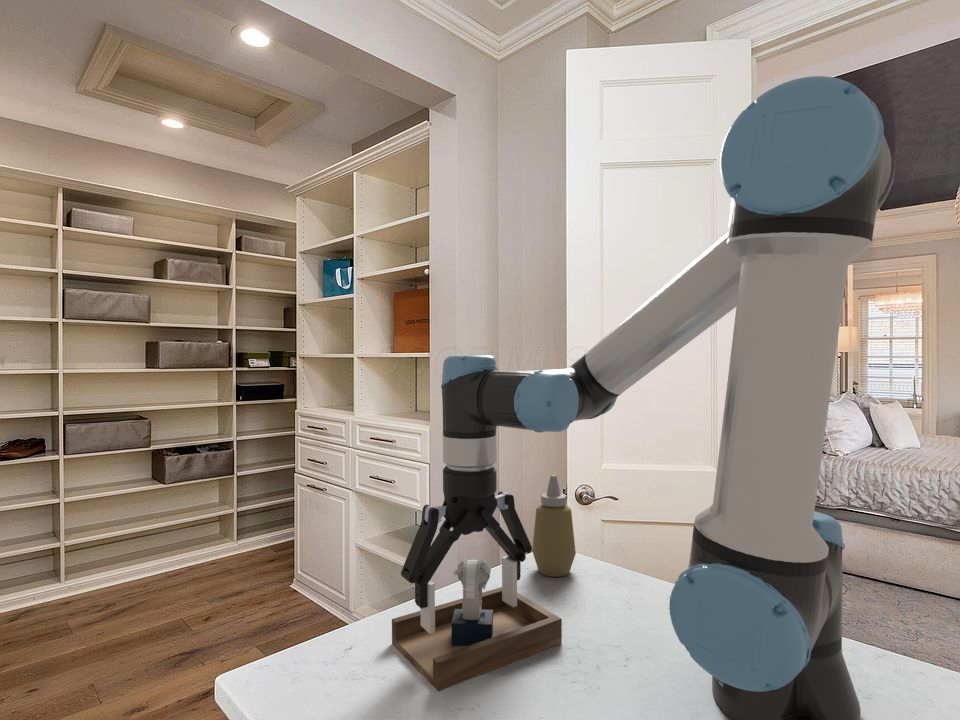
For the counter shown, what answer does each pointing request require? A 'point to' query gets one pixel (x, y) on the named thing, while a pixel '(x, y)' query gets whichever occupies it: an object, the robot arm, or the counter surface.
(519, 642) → the walnut track
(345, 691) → the counter surface
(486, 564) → the watch
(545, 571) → the squeeze bottle
